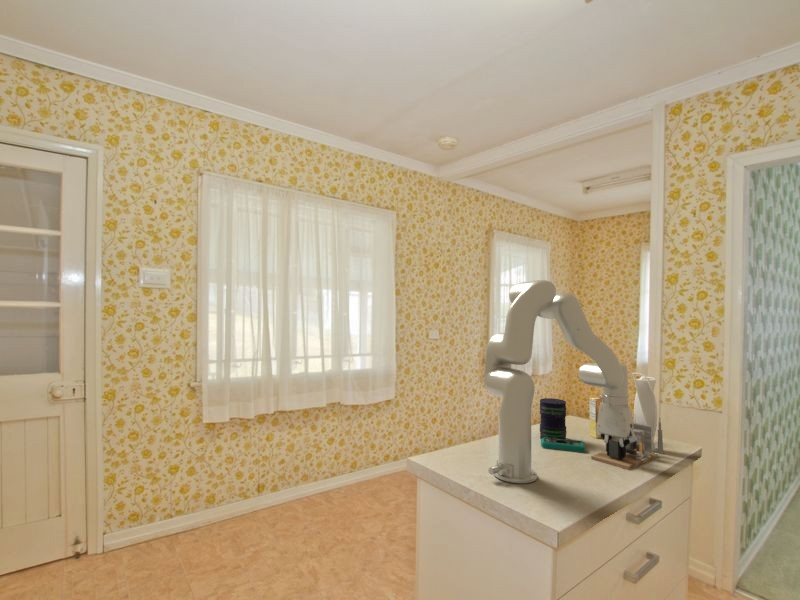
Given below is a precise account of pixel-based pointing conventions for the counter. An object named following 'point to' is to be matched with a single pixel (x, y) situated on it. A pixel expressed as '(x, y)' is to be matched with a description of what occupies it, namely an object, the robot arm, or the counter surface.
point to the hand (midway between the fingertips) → (615, 455)
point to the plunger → (615, 443)
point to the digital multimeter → (563, 444)
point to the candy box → (594, 416)
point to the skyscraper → (647, 409)
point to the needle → (640, 450)
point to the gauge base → (633, 460)
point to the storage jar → (552, 418)
